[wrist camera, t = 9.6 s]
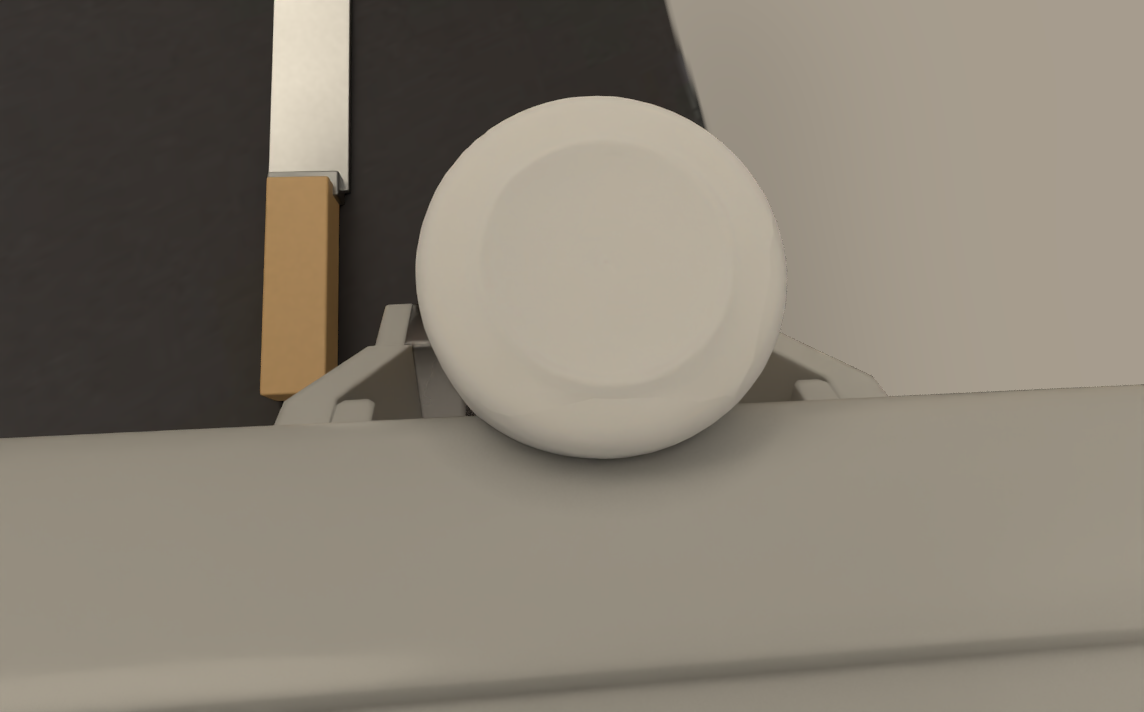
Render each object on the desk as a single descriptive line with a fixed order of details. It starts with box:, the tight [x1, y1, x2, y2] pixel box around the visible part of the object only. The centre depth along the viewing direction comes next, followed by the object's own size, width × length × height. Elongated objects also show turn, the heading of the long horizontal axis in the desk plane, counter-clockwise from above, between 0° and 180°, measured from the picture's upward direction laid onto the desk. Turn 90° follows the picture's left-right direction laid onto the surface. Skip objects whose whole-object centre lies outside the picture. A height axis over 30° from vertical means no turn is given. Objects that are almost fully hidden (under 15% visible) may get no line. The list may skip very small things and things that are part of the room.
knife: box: [260, 0, 352, 401], centre depth 26 cm, size 23×3×2 cm, turn 3°
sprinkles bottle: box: [416, 96, 787, 459], centre depth 14 cm, size 5×5×14 cm
